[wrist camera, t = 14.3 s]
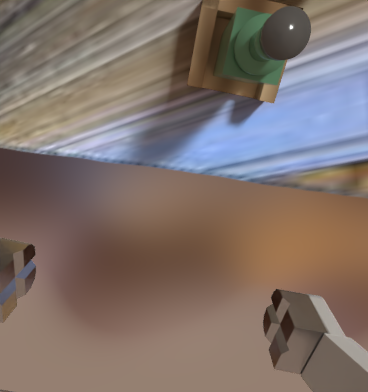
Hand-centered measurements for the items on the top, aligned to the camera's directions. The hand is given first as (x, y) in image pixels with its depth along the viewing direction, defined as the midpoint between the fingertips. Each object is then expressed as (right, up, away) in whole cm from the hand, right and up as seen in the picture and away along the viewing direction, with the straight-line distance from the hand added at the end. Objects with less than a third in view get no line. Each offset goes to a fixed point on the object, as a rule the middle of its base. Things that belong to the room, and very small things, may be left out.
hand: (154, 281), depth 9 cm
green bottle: (+8, +22, +29) cm, 38 cm away
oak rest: (+9, +24, +30) cm, 39 cm away
